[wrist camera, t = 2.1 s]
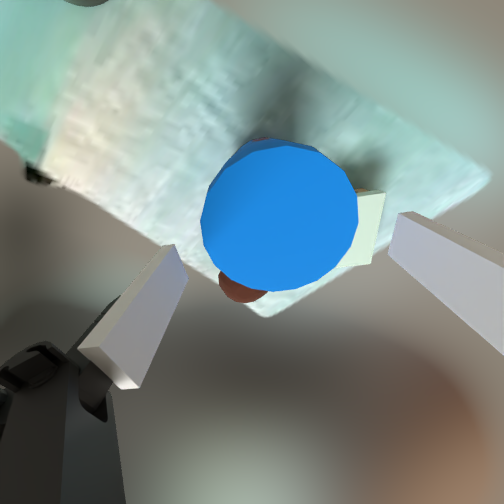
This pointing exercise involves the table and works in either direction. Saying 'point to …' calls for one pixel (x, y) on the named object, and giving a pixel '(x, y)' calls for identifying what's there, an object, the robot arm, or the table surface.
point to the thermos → (278, 215)
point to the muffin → (238, 290)
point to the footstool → (365, 228)
